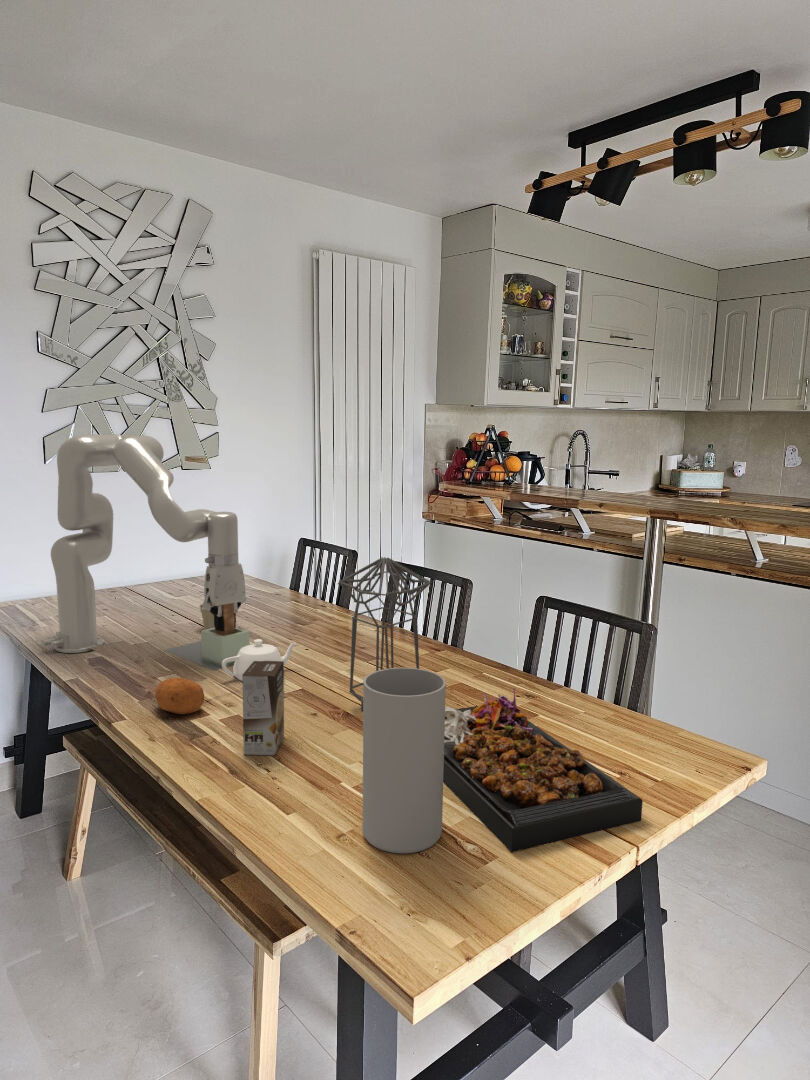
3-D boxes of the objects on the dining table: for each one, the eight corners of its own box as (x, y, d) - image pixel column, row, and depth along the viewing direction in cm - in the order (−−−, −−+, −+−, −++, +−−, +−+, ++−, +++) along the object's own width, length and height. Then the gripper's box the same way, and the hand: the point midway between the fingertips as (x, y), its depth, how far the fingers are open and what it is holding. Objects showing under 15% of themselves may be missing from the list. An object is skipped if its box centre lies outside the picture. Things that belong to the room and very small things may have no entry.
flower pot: (236, 629, 226) (235, 602, 225) (225, 638, 217) (225, 610, 215) (206, 628, 227) (205, 601, 226) (194, 637, 218) (194, 608, 216)
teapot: (285, 665, 195) (285, 627, 193) (308, 678, 185) (308, 639, 183) (212, 679, 183) (211, 639, 182) (232, 694, 173) (231, 653, 172)
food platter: (397, 738, 153) (398, 690, 151) (501, 721, 162) (503, 676, 161) (511, 856, 112) (514, 792, 110) (640, 824, 121) (645, 765, 120)
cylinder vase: (349, 845, 113) (349, 689, 109) (380, 806, 124) (382, 663, 120) (426, 863, 109) (430, 701, 104) (451, 821, 120) (456, 674, 116)
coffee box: (275, 756, 142) (274, 676, 140) (242, 755, 142) (241, 675, 140) (285, 736, 151) (284, 660, 149) (253, 735, 151) (252, 659, 149)
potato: (169, 723, 156) (168, 690, 155) (147, 708, 165) (145, 675, 163) (209, 712, 163) (208, 680, 161) (186, 698, 171) (185, 667, 170)
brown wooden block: (225, 639, 192) (224, 601, 190) (216, 635, 194) (215, 598, 193) (234, 636, 194) (234, 599, 192) (225, 633, 196) (224, 596, 195)
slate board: (214, 674, 187) (214, 670, 187) (163, 653, 202) (163, 649, 202) (259, 661, 197) (259, 657, 197) (207, 642, 213) (207, 639, 213)
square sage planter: (223, 667, 189) (222, 638, 188) (202, 659, 195) (201, 630, 194) (249, 659, 195) (249, 631, 194) (228, 652, 201) (228, 624, 200)
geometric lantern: (433, 710, 166) (436, 558, 159) (381, 732, 155) (382, 569, 148) (385, 690, 177) (386, 547, 170) (334, 709, 166) (332, 557, 159)
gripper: (204, 566, 182) (206, 638, 185) (258, 557, 194) (259, 625, 197) (187, 562, 187) (189, 632, 190) (240, 554, 199) (242, 620, 202)
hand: (225, 628), depth 194 cm, fingers closed on brown wooden block, 3 cm apart
